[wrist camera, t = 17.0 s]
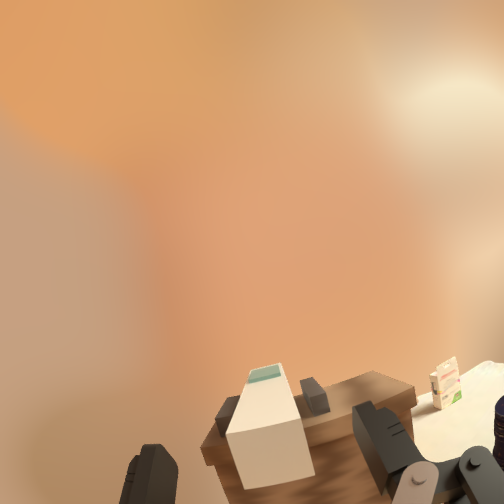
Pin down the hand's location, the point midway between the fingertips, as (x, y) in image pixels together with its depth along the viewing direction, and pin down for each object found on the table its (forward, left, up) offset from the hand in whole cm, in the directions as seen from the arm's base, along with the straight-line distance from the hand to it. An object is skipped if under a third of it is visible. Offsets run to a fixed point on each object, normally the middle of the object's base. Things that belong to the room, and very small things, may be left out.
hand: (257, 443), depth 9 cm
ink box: (-48, -61, -37) cm, 86 cm away
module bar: (0, -15, -5) cm, 15 cm away
